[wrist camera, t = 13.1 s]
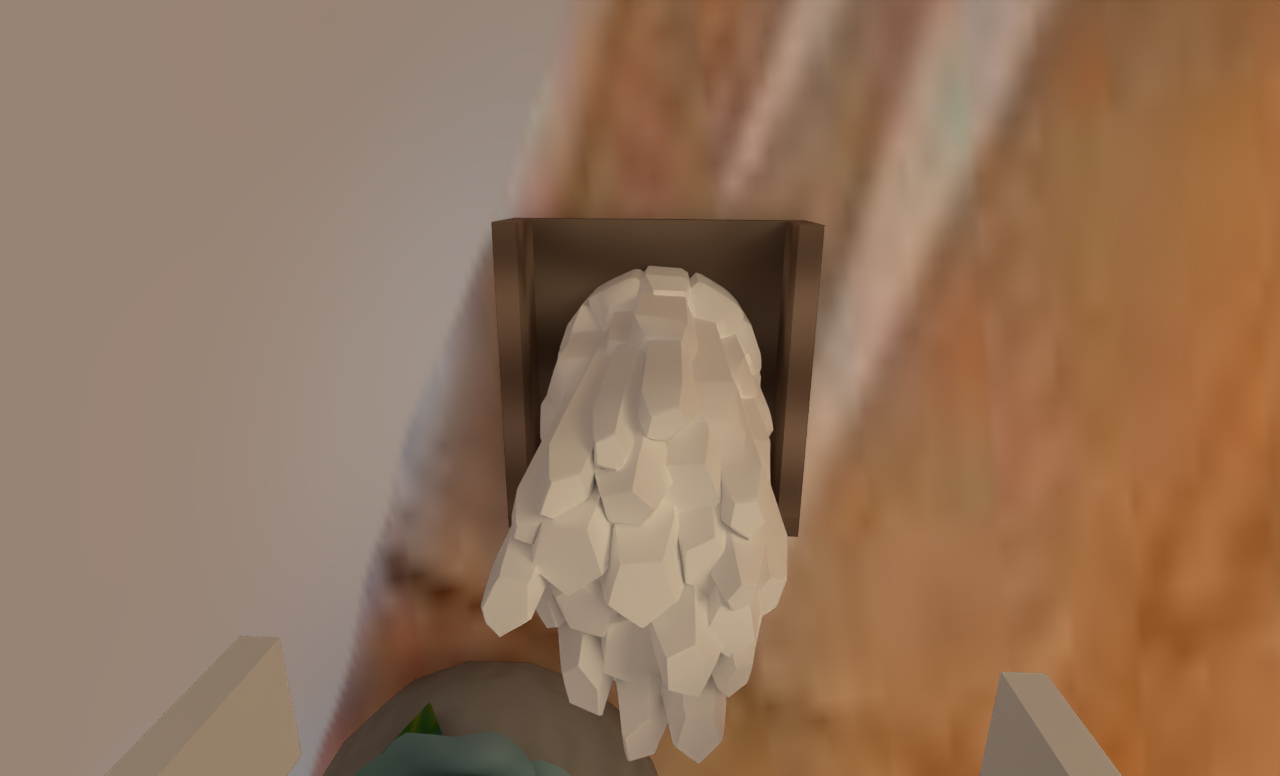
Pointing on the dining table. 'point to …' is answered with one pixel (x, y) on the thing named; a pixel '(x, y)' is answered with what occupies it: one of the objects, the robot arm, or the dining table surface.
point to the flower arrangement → (488, 729)
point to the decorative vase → (649, 510)
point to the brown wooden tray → (606, 248)
